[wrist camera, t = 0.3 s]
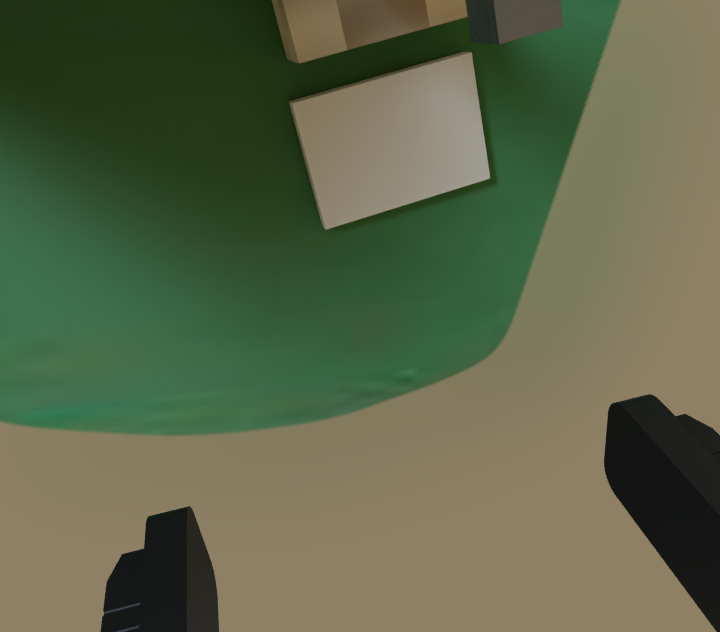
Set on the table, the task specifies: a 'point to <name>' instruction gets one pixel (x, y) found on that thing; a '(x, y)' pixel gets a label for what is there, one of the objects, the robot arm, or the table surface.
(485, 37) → the t key
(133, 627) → the robot arm
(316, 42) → the slot block
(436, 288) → the table surface
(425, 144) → the beige flat plate
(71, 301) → the table surface
